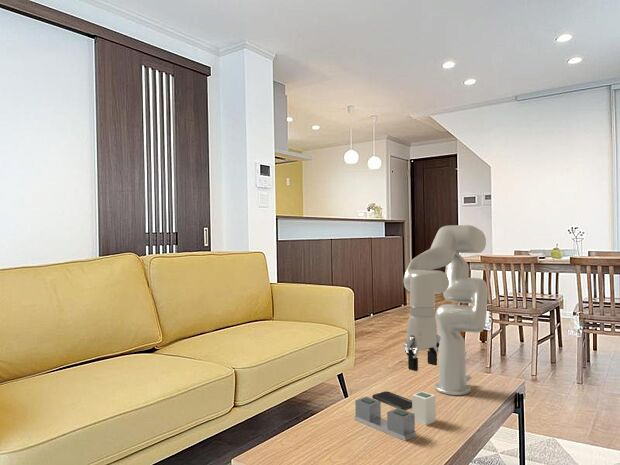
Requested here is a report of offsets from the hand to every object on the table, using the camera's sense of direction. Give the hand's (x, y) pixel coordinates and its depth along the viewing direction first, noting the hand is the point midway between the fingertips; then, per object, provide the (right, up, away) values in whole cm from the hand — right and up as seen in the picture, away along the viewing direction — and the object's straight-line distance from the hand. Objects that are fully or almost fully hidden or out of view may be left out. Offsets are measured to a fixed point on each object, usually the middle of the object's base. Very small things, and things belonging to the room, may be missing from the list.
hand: (422, 367), depth 144 cm
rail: (-13, -17, -4) cm, 22 cm away
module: (0, -17, 0) cm, 17 cm away
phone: (-6, -17, +17) cm, 25 cm away
